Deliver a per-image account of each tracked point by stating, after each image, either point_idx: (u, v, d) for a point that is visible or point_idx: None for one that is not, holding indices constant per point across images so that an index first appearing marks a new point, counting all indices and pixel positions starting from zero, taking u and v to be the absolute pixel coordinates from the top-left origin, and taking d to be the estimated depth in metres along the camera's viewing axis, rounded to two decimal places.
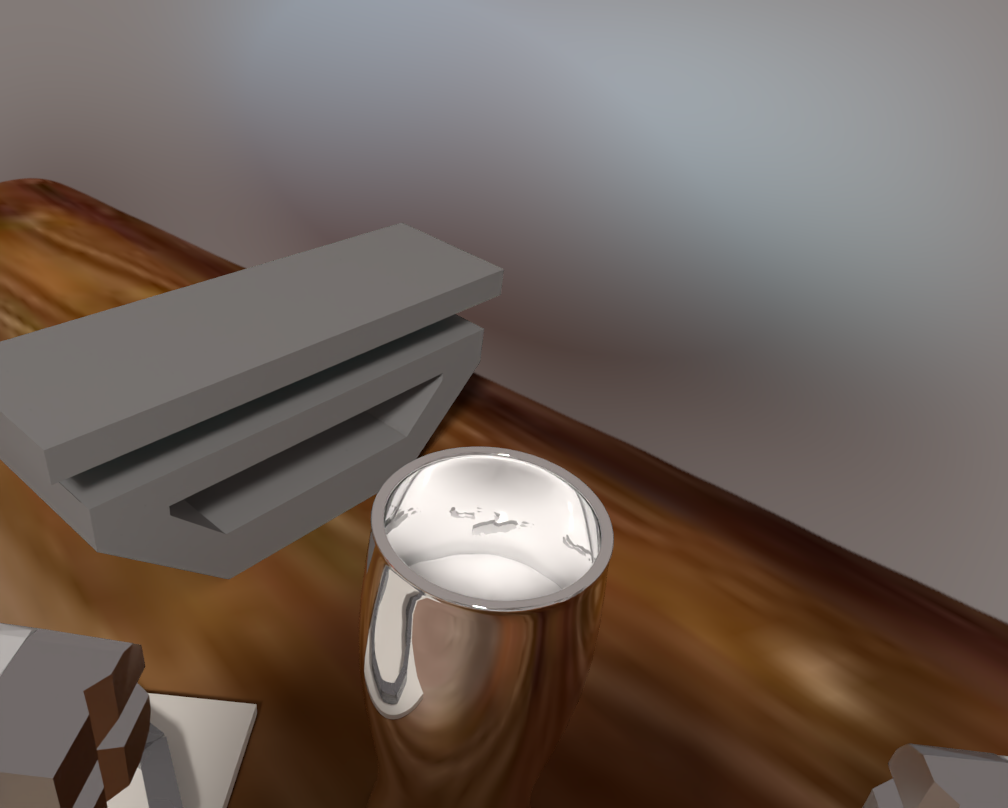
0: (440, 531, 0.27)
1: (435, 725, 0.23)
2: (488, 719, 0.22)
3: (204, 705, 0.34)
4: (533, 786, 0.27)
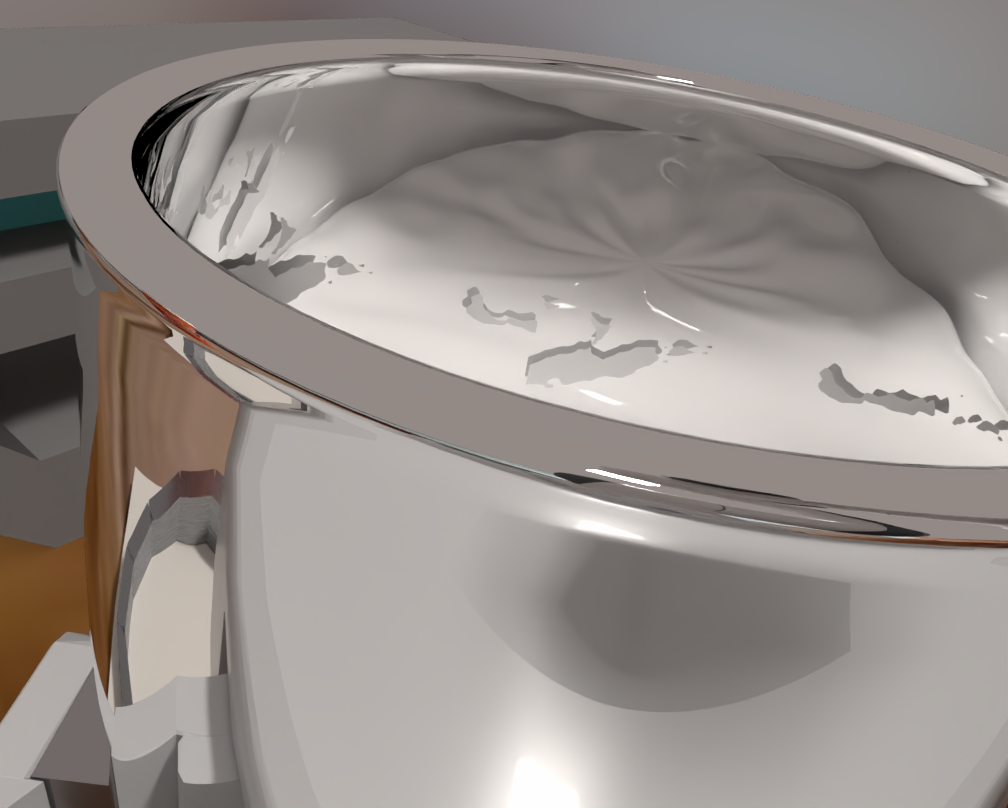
0: (434, 366, 0.09)
1: None
2: None
3: None
4: None
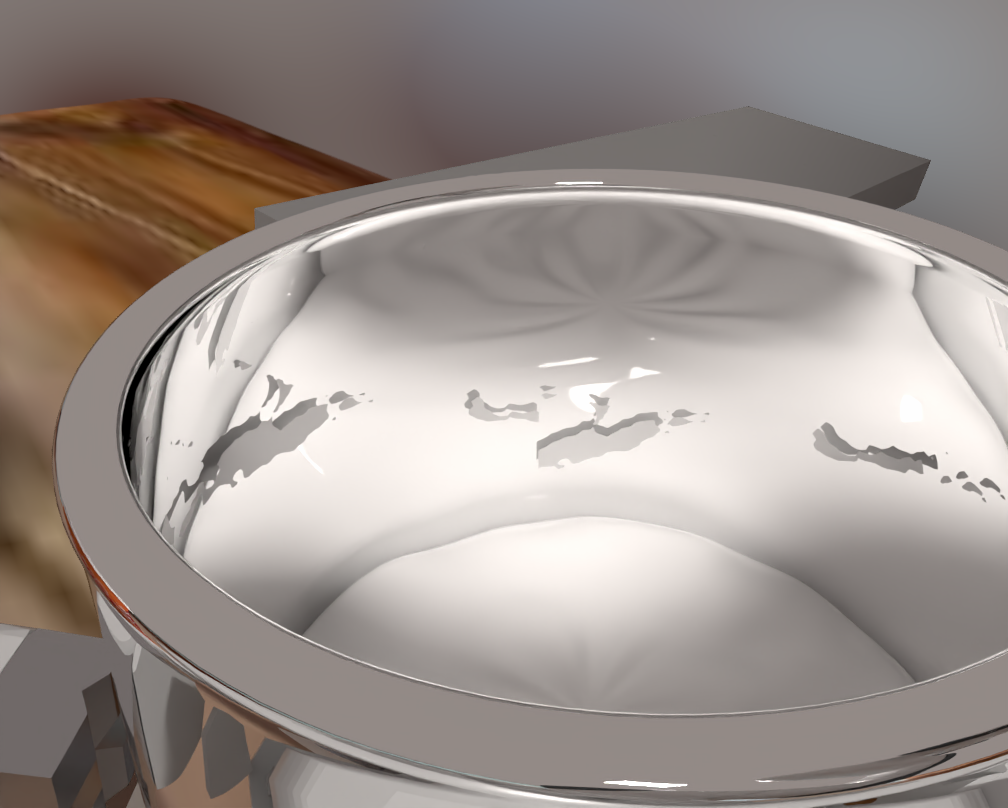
0: (448, 466, 0.10)
1: None
2: None
3: None
4: None
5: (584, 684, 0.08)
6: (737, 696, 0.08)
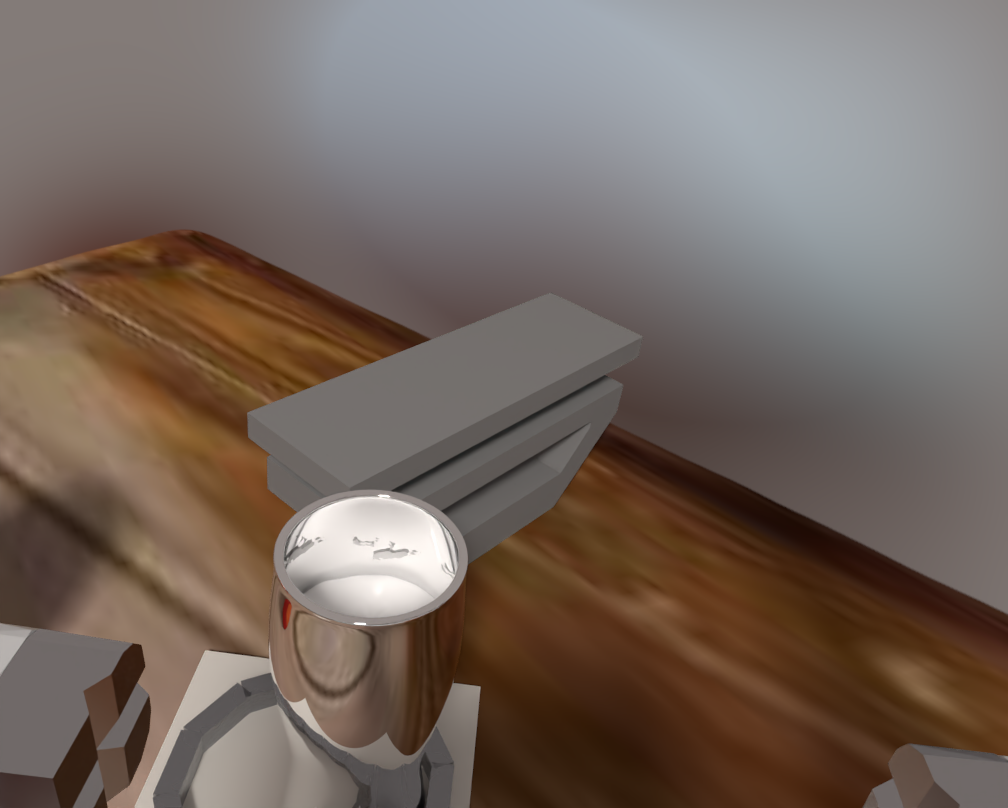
0: (345, 555, 0.33)
1: (320, 712, 0.29)
2: (360, 709, 0.28)
3: None
4: (415, 767, 0.33)
5: None
6: None
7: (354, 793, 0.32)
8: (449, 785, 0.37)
